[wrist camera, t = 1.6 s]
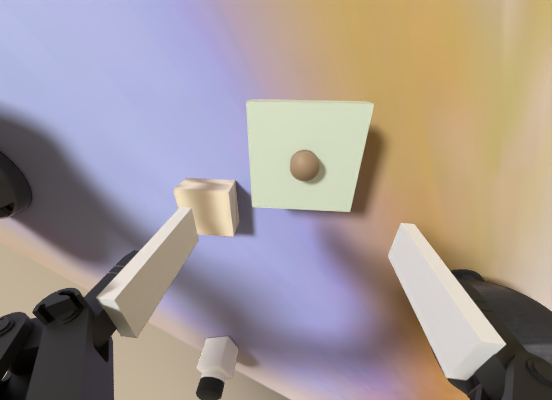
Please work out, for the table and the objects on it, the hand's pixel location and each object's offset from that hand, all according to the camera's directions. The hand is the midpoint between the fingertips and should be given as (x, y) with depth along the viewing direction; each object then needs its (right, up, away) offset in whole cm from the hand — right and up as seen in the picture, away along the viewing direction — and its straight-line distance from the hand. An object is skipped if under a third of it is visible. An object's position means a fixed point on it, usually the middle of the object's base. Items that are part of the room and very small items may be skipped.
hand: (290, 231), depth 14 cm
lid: (+2, +7, +11) cm, 14 cm away
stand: (-11, +2, +22) cm, 25 cm away
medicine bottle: (-16, -38, +46) cm, 62 cm away
